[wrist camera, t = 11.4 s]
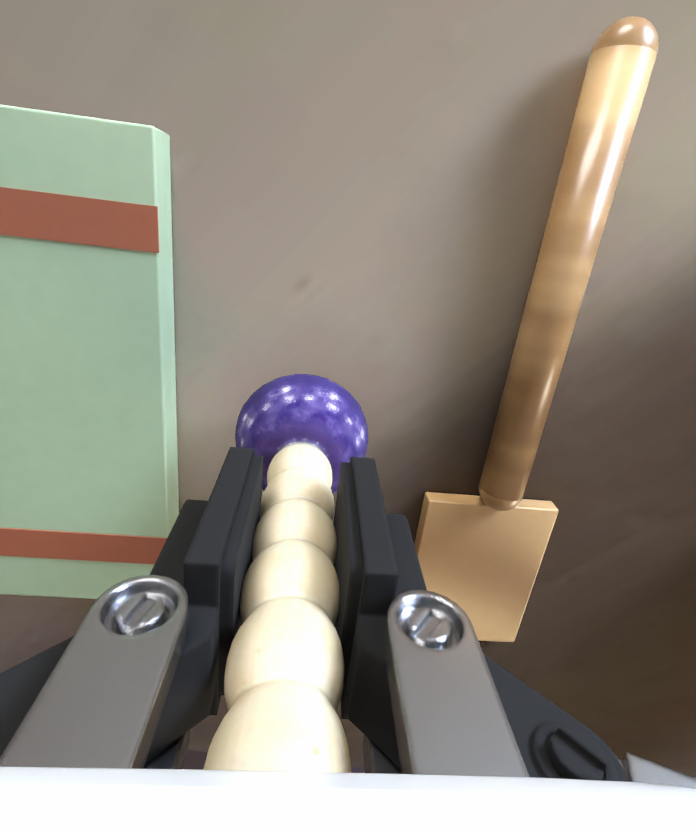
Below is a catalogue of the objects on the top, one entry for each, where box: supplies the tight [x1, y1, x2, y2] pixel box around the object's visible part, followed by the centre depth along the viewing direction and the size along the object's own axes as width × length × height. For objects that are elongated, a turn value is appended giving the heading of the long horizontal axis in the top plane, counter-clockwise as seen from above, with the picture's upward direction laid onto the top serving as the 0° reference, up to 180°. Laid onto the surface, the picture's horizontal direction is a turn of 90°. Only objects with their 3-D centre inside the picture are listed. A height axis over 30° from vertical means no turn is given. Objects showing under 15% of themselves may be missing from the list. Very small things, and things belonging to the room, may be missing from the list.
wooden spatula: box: [414, 16, 659, 642], centre depth 16 cm, size 22×5×2 cm, turn 173°
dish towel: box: [0, 105, 179, 599], centre depth 15 cm, size 9×16×1 cm, turn 173°
